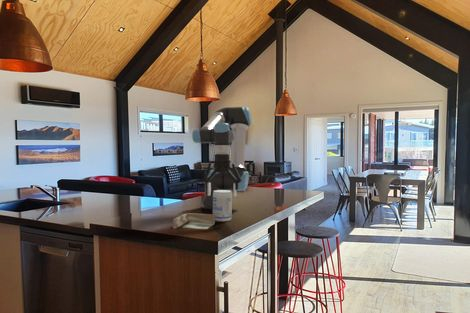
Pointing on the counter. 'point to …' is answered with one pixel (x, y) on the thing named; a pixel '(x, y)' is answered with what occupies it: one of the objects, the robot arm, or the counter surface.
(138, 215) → the counter surface
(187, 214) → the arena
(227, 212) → the supplement tub
